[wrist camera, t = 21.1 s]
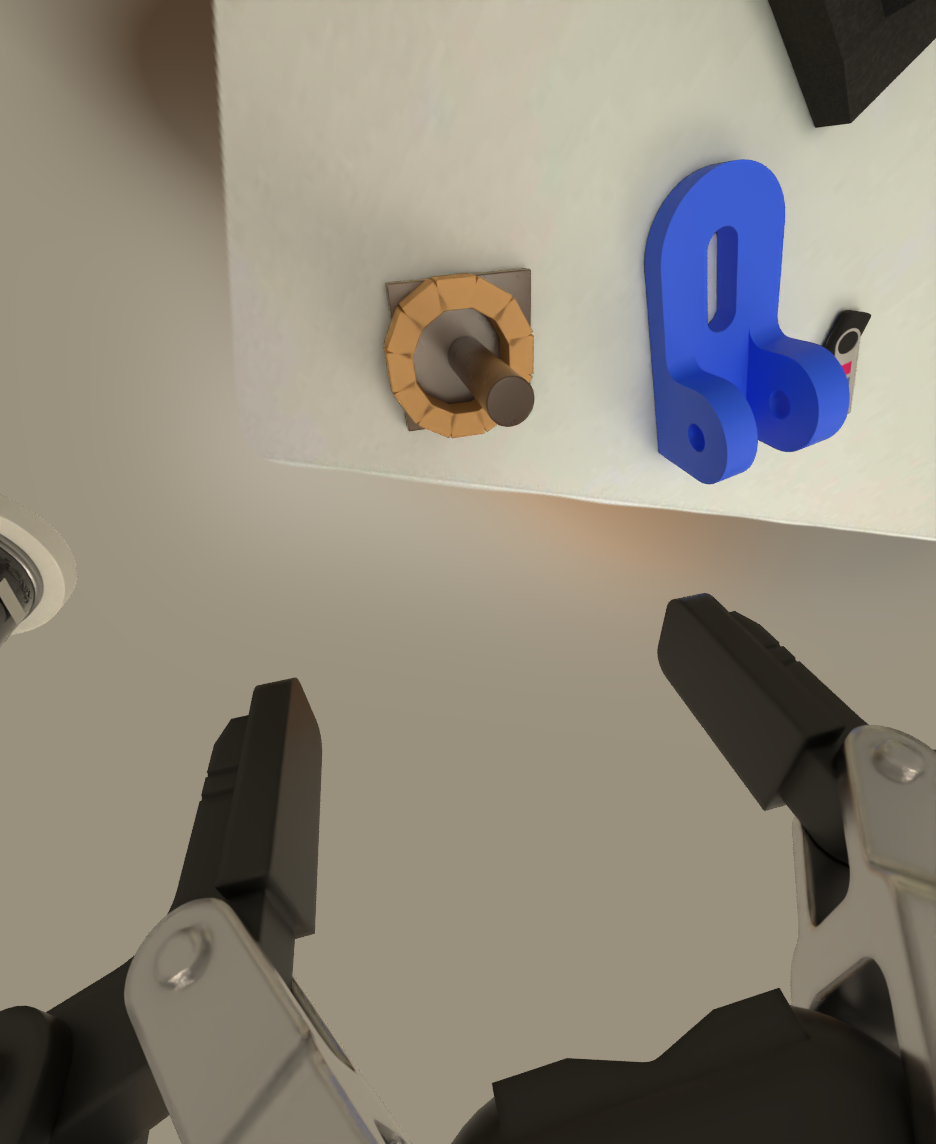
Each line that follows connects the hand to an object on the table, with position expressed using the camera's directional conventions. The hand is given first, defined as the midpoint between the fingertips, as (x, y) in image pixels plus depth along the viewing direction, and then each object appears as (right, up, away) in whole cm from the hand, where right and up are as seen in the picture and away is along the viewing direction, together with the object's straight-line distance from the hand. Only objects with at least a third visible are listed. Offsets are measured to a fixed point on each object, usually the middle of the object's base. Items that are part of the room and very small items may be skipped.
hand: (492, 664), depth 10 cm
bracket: (+17, +20, +24) cm, 36 cm away
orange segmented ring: (-1, +16, +21) cm, 27 cm away
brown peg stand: (-1, +17, +22) cm, 28 cm away
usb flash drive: (+30, +19, +29) cm, 45 cm away
